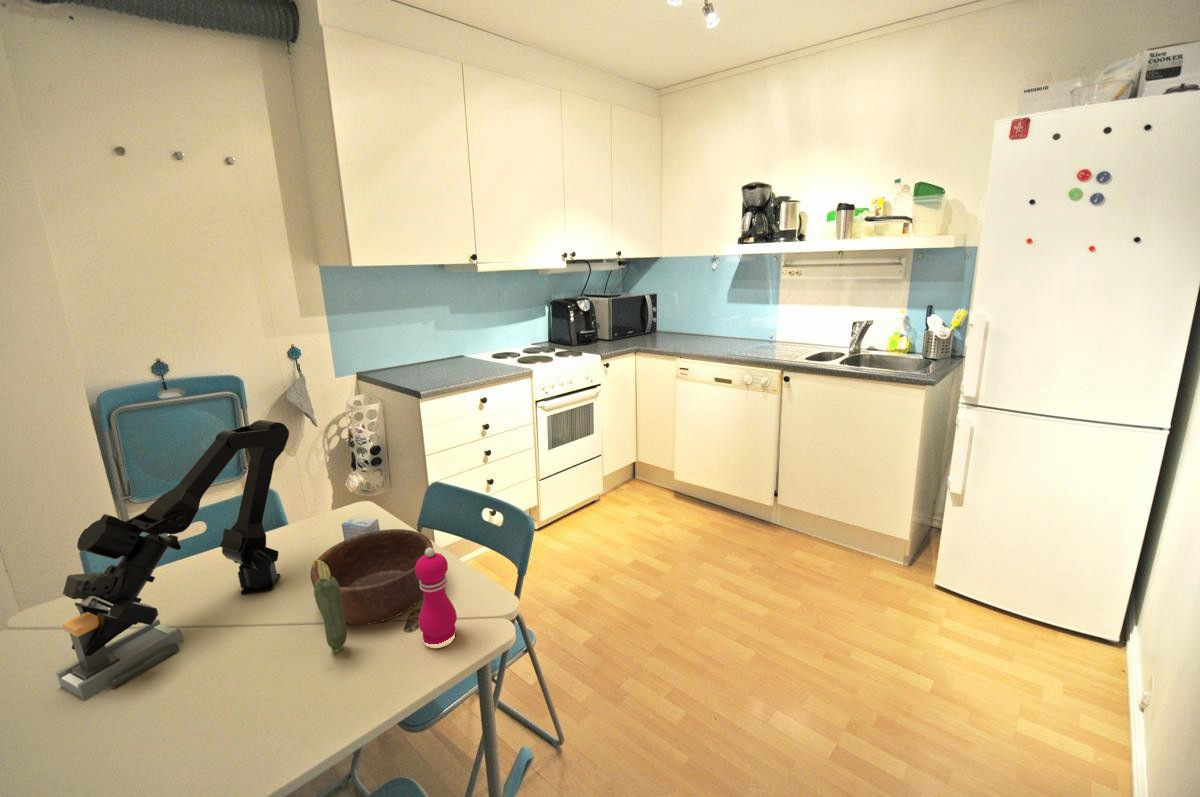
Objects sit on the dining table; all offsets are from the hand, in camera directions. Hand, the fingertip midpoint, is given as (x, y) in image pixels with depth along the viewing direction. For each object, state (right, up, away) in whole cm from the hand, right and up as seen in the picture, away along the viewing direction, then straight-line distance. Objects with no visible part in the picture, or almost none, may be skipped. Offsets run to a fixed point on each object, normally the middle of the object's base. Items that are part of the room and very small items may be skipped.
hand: (80, 652), depth 97 cm
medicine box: (+32, +6, +44) cm, 54 cm away
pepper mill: (+61, -2, +11) cm, 62 cm away
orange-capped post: (+1, -4, +2) cm, 4 cm away
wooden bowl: (+43, +1, +25) cm, 50 cm away
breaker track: (+2, -5, +6) cm, 9 cm away
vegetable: (+42, -4, +8) cm, 43 cm away
